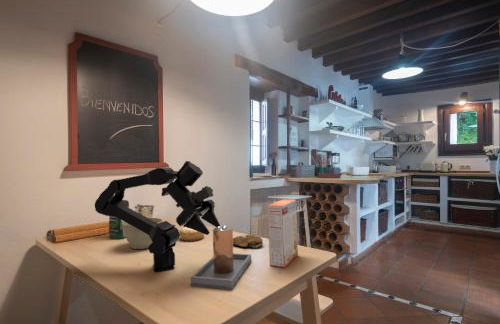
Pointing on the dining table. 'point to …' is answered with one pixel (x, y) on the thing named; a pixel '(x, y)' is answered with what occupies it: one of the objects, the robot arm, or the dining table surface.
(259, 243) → the decorative rock
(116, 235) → the coffee jar
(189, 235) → the pastry
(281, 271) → the dining table surface
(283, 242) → the cracker box
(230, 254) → the copper cylinder
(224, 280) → the gray tray
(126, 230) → the planter bowl
